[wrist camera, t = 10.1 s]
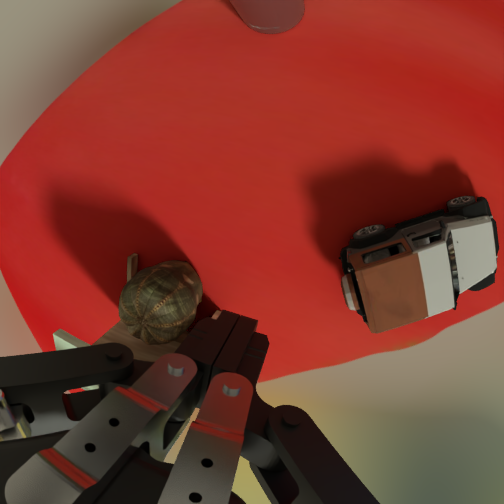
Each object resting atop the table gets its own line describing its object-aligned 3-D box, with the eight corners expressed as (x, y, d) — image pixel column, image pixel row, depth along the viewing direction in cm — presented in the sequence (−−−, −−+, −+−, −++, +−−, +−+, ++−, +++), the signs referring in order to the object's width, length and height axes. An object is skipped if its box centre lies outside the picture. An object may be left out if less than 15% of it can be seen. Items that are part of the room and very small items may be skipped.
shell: (138, 285, 51) (97, 315, 40) (171, 240, 47) (128, 266, 36) (184, 328, 51) (152, 368, 40) (222, 288, 47) (192, 327, 36)
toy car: (492, 267, 37) (523, 293, 28) (352, 315, 44) (357, 354, 35) (480, 187, 34) (516, 197, 25) (329, 236, 42) (330, 259, 32)
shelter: (129, 251, 49) (47, 297, 31) (228, 281, 47) (171, 354, 29) (128, 318, 54) (62, 376, 36) (216, 350, 51) (168, 431, 33)
